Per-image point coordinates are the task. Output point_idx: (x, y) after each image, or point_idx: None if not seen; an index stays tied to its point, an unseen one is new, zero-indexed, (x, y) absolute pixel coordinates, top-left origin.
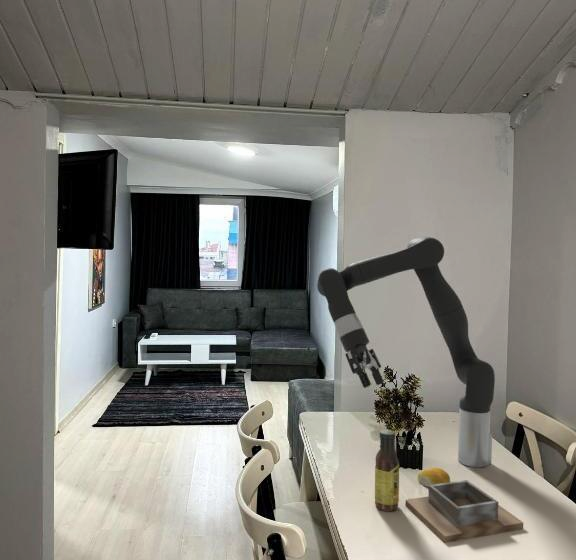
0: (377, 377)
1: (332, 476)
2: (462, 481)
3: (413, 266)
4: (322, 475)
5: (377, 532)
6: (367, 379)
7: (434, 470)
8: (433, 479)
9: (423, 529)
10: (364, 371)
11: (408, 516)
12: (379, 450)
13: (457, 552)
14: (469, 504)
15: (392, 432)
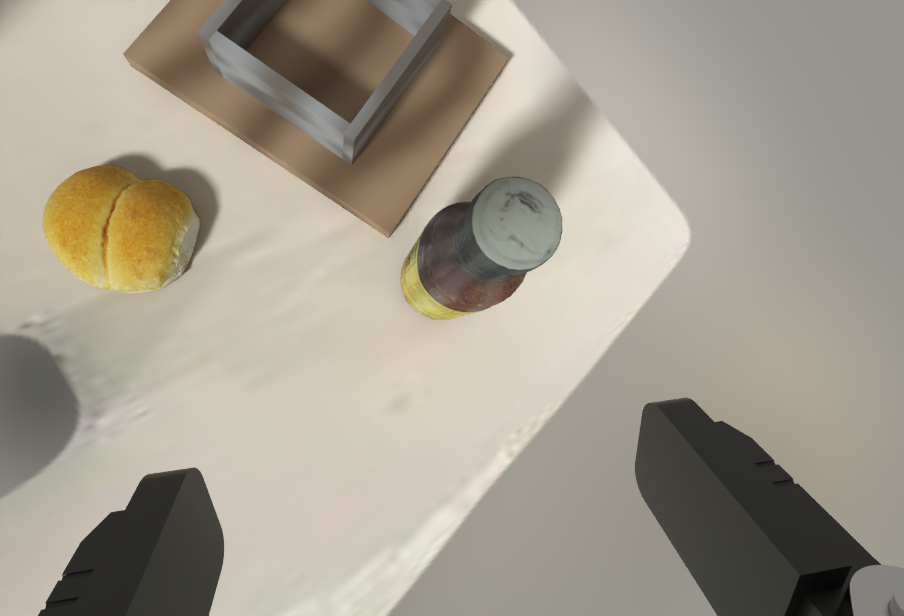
0: (170, 609)
1: (370, 570)
2: (225, 42)
3: None
4: (390, 605)
5: (578, 231)
6: (738, 460)
7: (101, 222)
8: (178, 204)
9: (480, 136)
10: (892, 579)
11: (445, 200)
12: (511, 277)
13: (520, 29)
14: (271, 45)
15: (506, 193)
